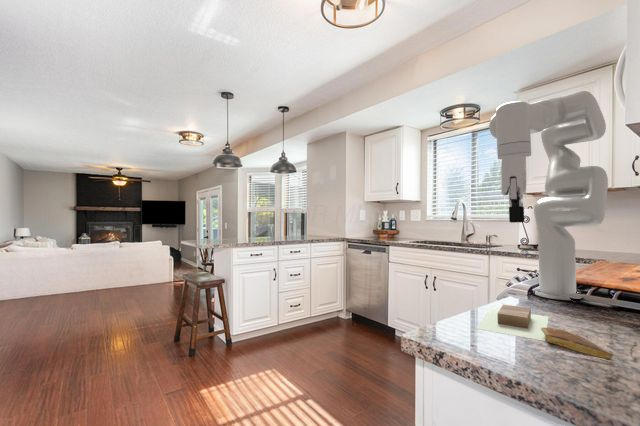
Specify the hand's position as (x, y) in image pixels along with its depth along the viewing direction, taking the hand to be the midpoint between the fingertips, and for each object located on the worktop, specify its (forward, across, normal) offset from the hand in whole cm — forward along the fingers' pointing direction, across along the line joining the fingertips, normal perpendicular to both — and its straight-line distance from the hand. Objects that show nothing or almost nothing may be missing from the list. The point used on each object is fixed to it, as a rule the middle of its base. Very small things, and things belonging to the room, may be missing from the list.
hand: (516, 222), depth 84 cm
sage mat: (+24, +10, -1) cm, 26 cm away
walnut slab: (+22, +4, -1) cm, 23 cm away
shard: (+24, +18, +11) cm, 32 cm away
